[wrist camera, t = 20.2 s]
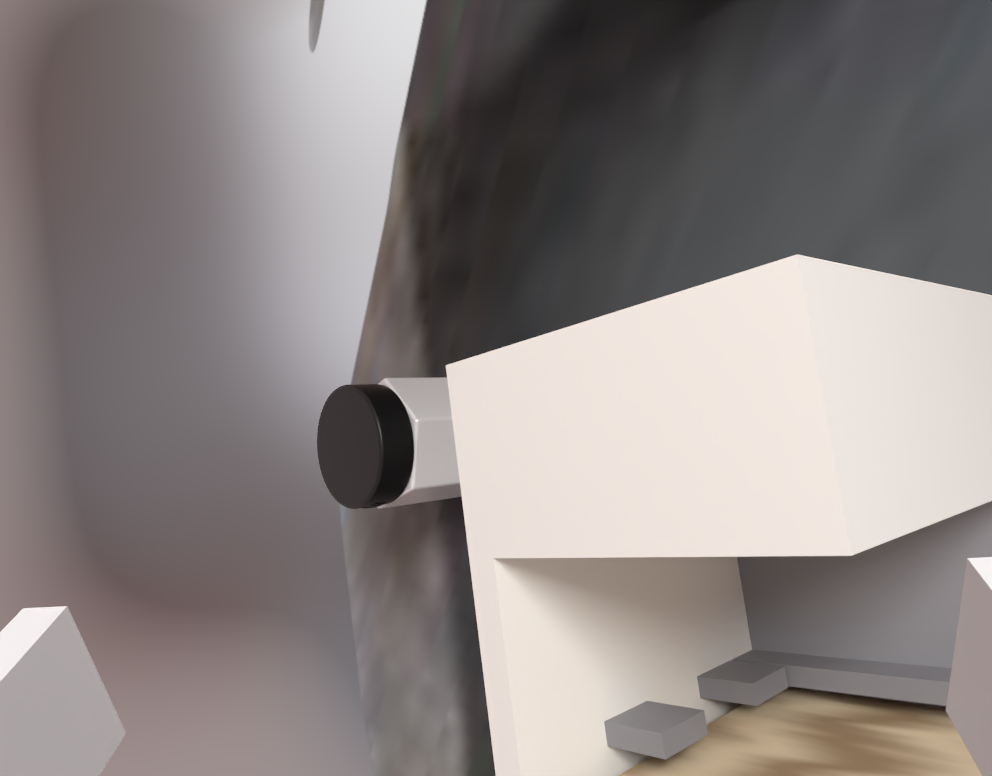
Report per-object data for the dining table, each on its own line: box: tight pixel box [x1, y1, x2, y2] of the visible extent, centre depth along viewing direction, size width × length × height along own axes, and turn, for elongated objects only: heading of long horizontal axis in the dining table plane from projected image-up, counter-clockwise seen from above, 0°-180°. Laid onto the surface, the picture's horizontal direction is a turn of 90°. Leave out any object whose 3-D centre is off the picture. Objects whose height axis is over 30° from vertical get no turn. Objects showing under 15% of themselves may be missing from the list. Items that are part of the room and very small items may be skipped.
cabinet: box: [446, 255, 992, 776], centre depth 31 cm, size 16×23×18 cm, turn 11°
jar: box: [317, 377, 462, 509], centre depth 53 cm, size 9×8×12 cm
